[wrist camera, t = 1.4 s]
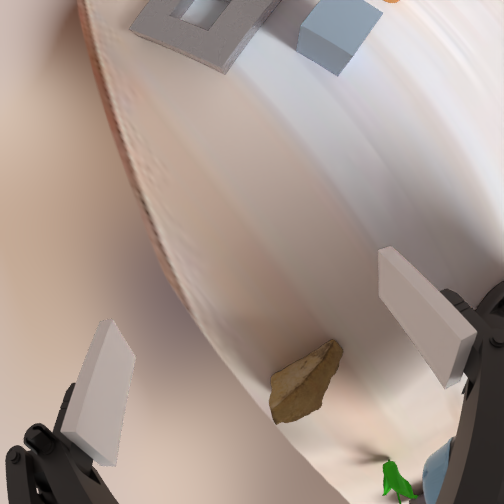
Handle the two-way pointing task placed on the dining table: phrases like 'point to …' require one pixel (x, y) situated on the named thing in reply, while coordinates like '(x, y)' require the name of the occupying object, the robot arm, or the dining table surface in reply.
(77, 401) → the robot arm
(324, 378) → the rock
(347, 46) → the light blue block
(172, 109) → the dining table surface
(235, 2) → the gray base set
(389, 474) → the flower
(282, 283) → the dining table surface
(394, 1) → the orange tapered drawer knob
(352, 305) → the dining table surface
